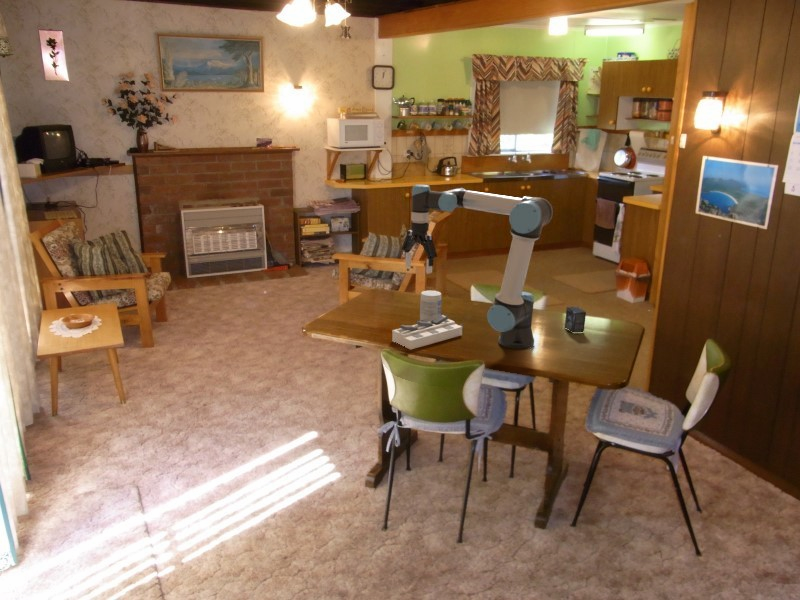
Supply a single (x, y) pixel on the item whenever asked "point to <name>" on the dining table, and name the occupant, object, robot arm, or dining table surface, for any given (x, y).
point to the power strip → (426, 334)
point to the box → (575, 319)
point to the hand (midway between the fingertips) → (418, 269)
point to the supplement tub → (430, 305)
